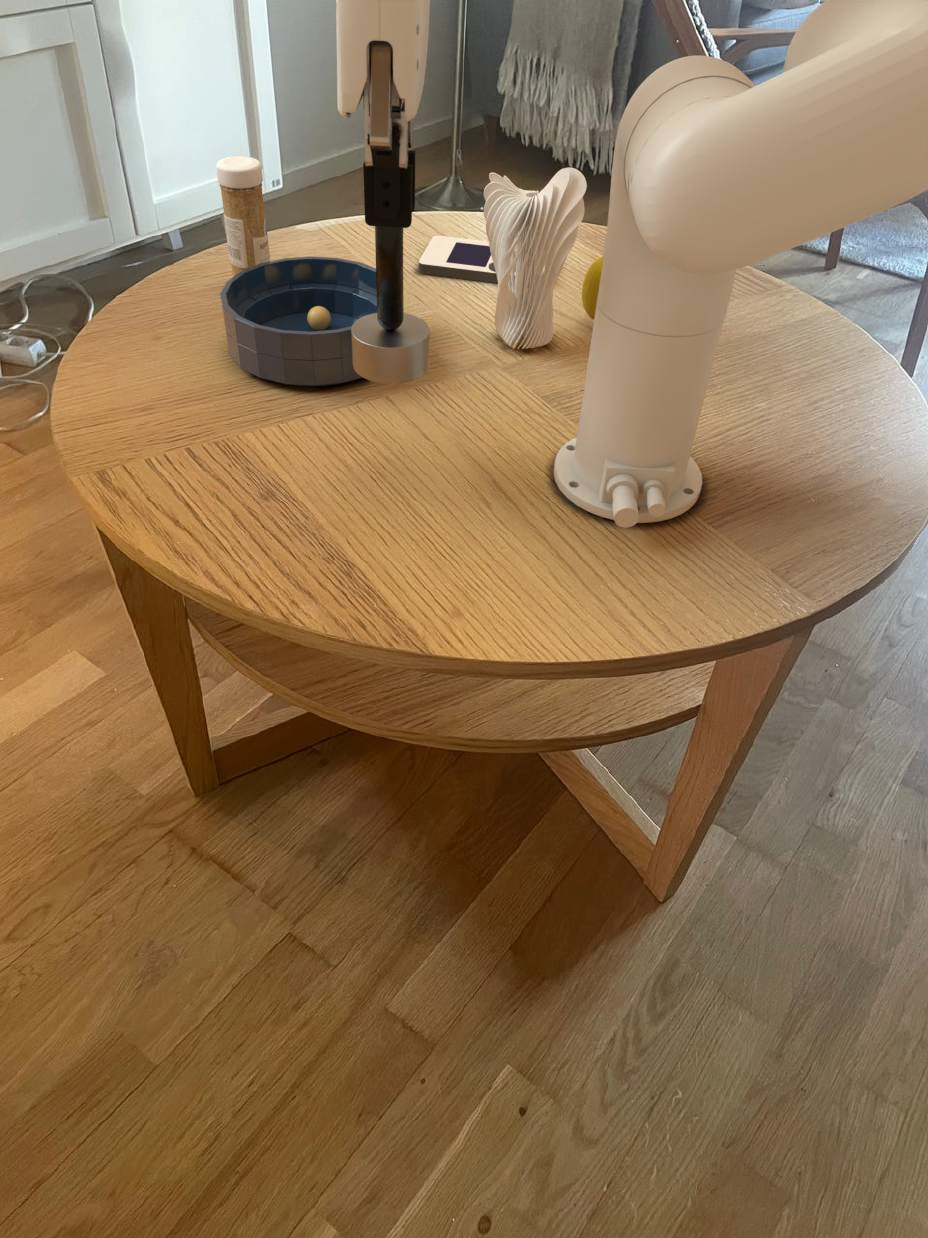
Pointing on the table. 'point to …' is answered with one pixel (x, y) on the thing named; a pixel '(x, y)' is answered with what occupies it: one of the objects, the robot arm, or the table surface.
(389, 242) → the weighted rod stand
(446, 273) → the handheld game console
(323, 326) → the bean
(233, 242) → the sprinkles bottle
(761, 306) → the table surface
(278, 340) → the bowl
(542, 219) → the shell sculpture
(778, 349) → the table surface
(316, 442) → the table surface
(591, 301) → the lemon
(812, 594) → the table surface
